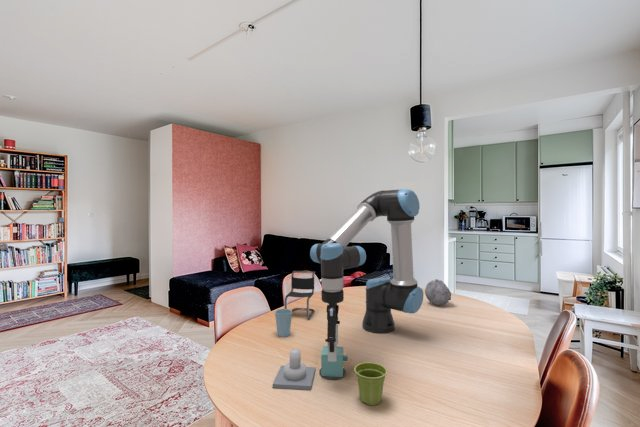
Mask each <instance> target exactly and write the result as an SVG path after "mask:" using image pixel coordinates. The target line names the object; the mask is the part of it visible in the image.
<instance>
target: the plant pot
mask: <svg viewBox="0 0 640 427" xmlns="http://www.w3.org/2000/svg"><path fill="white" fill-rule="evenodd" d="M353 370H354V373H355V376H356V378H357V385H358V390H359V391H358V392H359V398H360V401H361V402H362V403H365V404H366V405H368V406H376V405H378V404H380V403H381V402H382V398H383V390H384V383H385V379H386V378H385V377H386V375H387V373H388V370H387V368H386V367H385V366H384V365H382V364H380V363H376V362H367V361H366V362H361V363H358V364H356V365H355V366H354V369H353Z"/></svg>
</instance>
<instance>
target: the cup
mask: <svg viewBox="0 0 640 427" xmlns="http://www.w3.org/2000/svg"><path fill="white" fill-rule="evenodd" d="M274 315H275V316H274V317H275V325H276V332H277V333H276V334H277V336H278V337H280V338H285V337H289V336H290V334H291V326H292V325H291V324H292V315H293V312H292V309H289V308H287V309H285V308H280V309H276V310H275V311H274Z"/></svg>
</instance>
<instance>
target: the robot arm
mask: <svg viewBox="0 0 640 427" xmlns="http://www.w3.org/2000/svg"><path fill="white" fill-rule="evenodd" d="M419 211H420V201H419V197H418V195H417V194H416V192H415V191H414V190H412V189H408V188H407V189H405V188H401V189H389V190H379V191H376V192H373V193H371V194H370V195H369V196H367V197H365V199H363V200H362V201H361V202H360V203H359V204H358V205H357V206H356V210H355V211H354V212H353V213H352V214H351V215H350V216H349V217H347V219H346V220H345V221H344V222H342V223H341V225H340V226H339V227H338V228H336V229H335V231H334V232H333V233H331V234H330V236H328V237H327V239H325V240H324V241H323V242H322V243H315V244H314V245H312V246H311V248H310V251H309V257H310V259H311V260H312V261H313V262H314V263H318V264H320V272H321V273H320V274H321V275H320V277H321V279H319V282H320V283H321V291H320V292H321V302H323V303H326V304H327V306H326V319H327V331H326V332H327V335H326V338H325V339H324V340H325V342H326V343H327V346H328V361H332V362H336V361H337V360H336V346H337V344H339V325H340V324H341V321H340V320H339V309H340V306H339V304H340V303H342V302H344V293H345V292H344V284H345V282H344V270H347V269H354V268H358V267H359V266H362V265H364V264H365V262H366V260H367V254H366V250H365V249H364V248H363V247H361V246H360V245H352V246H348V245H349V243H350V242H351V241H353V240H354V239H355V237H356V236H357V235H358V234H359V233H360V232H361V231H362V230H363V228H365V227H366V225H367V224H369V222H372V221H374V220H375V219H377V218H379V217H386V222H388V223H389V224H390V234H391V236H390V237H391V253H392V272H393V278H392V279H391V278H389V277H378V278H377V277H376V278H371V279H368V280H367V281H366V282H365V284H366V285H365V313H364V316H363V319H362V322H361V323H362V328H363V329H364V330H365V331H367V332H371V333H376V334H387V333H390V332H391V333H392V332H393V331H394V330H395V329H396V328H395V327H396V323H395V320H394V317H393V314H392V310H394V311H397V312H402V313H406V314H410V315H411V314H415V313H417V312H419V310H420V309H421V306H422V305H423V302H424V291H423V288H421V287H420V286H418V280H417V279H416V278H415V277H414V276H415V275H414V261H413V259H414V258H413V257H414V256H413V242H412V241H413V238H412V237H413V236H412V223H413V222H414V221H415V217H416V216H418V215H419V213H420V212H419Z"/></svg>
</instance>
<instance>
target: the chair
mask: <svg viewBox="0 0 640 427" xmlns="http://www.w3.org/2000/svg"><path fill="white" fill-rule="evenodd" d="M297 273H298V274H303V273H304V274H312V275H311V277H310V278H309V277H307V278H299V277H294V275H295V274H297ZM315 274H316V271H311V270H293V271H292V272H291V279H290V280H291V291H289V292H288V293H287V294H286V295H285V297H284V309H288V308H287V307H288V306H287V305H288V304H287V302H288V301H287V300H288V298H289V297H292V298H306V307H305V308H304V307H303V308H302V307H294V308H292V309H291V310H292V313H293V312H294V311H306V319H307V320H310V319H311V317H312V316H313V315H314V313H315V309H313V308H310V299H311V298H312V297H313V296H314V293H315ZM294 290H309V291H310V290H311V292H296V291H294Z"/></svg>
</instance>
